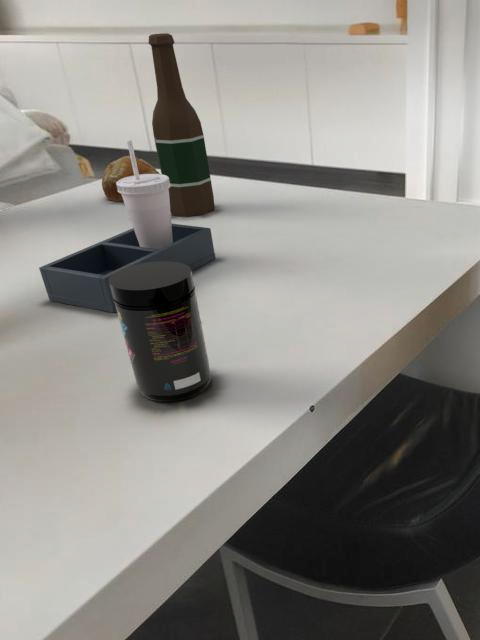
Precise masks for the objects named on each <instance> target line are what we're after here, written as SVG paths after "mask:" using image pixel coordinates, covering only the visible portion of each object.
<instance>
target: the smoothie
mask: <svg viewBox="0 0 480 640" xmlns="http://www.w3.org/2000/svg"><path fill="white" fill-rule="evenodd" d="M126 144H127V148H128V152H129V156H130V158H131V162H132V167H133V171H134V176H129V177H125V178H122V179H120V180H118V181H117V182H116V185H117V189H118V192H119V193H121V195H122V197H123V200H124V202H123V203H124V206H125V208H126V211H127V214H128V217H129V220H130V223H131V225H132V228H134V231H135V234H136V237H137V239H138V242H139V245H140V247H145V248H152V249H161V248H163V247H166V246H168V245H170V244H172V243H173V237H172V224H173V223H172V214H171V212H170V199H169V188H170V186H171V184H170V181H169V177H168V176H166V175H162V174H161V173H160V174H141V175H139V172H138V167H137V163H136V158H137V157H136V154H135V150H134V146H133V141H132V140H127V141H126ZM135 157H136V158H135Z"/></svg>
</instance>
